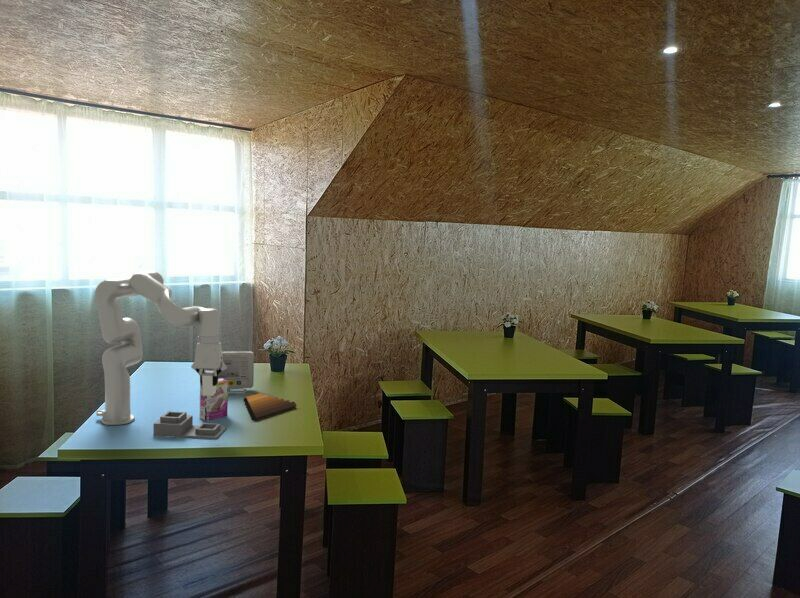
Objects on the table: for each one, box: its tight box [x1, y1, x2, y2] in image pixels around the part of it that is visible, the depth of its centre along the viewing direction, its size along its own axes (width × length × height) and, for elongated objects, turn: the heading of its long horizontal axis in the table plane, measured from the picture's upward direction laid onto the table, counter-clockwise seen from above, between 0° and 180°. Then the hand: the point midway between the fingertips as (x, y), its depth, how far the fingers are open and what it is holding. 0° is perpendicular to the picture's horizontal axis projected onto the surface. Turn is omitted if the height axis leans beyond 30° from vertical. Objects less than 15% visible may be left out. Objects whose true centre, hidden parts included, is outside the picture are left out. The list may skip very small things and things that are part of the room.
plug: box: [202, 371, 216, 396], centre depth 234 cm, size 4×4×9 cm
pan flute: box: [242, 392, 297, 422], centre depth 270 cm, size 25×3×25 cm
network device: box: [205, 350, 255, 394], centre depth 295 cm, size 26×9×20 cm, turn 105°
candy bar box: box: [199, 378, 229, 422], centre depth 254 cm, size 11×5×16 cm, turn 141°
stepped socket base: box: [152, 410, 227, 440], centre depth 236 cm, size 25×12×7 cm, turn 89°
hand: (209, 384), depth 234 cm, fingers closed on plug, 4 cm apart
